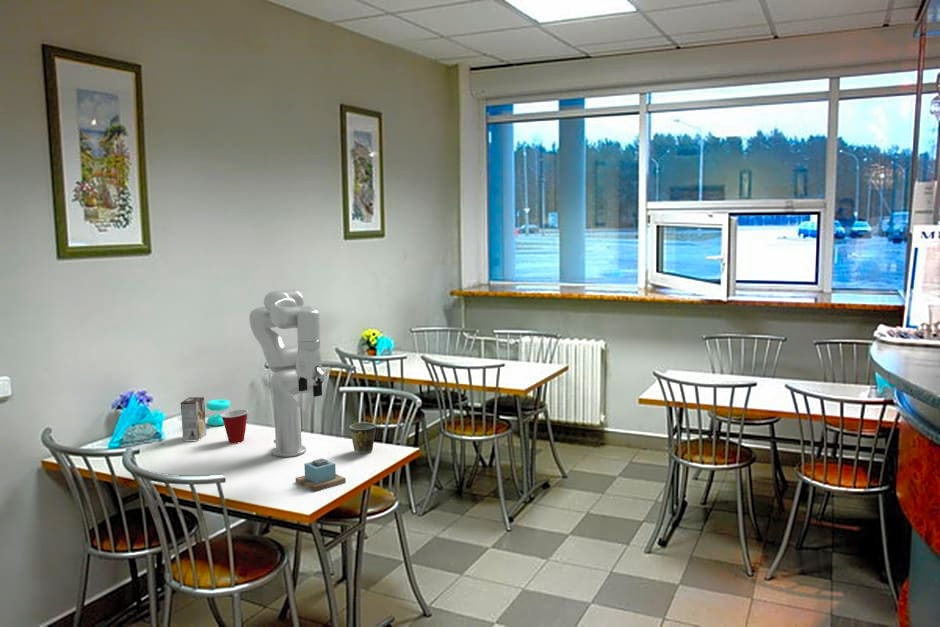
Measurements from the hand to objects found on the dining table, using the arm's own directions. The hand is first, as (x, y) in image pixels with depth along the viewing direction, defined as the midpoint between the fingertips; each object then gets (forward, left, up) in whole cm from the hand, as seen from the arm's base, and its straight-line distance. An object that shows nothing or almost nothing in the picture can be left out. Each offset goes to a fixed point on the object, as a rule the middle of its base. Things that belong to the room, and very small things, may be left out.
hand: (310, 393), depth 261 cm
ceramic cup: (-4, +24, -28) cm, 37 cm away
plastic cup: (-52, -4, -28) cm, 59 cm away
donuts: (-82, +3, -28) cm, 87 cm away
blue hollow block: (+13, -5, -26) cm, 30 cm away
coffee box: (-68, -14, -28) cm, 75 cm away
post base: (+13, -5, -28) cm, 31 cm away
